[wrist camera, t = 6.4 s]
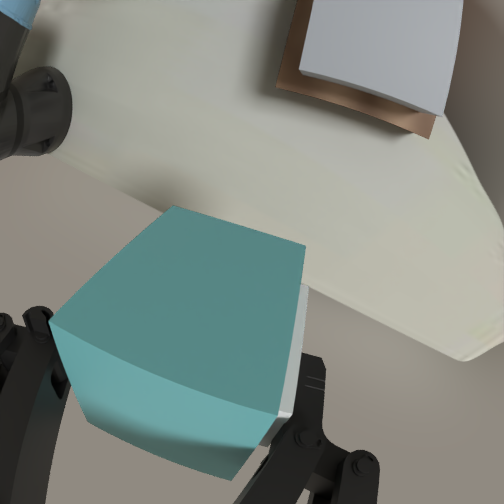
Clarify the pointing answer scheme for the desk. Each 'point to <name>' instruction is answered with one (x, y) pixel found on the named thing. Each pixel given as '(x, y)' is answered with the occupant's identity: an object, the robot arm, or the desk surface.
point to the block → (185, 339)
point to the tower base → (338, 93)
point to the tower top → (386, 48)
